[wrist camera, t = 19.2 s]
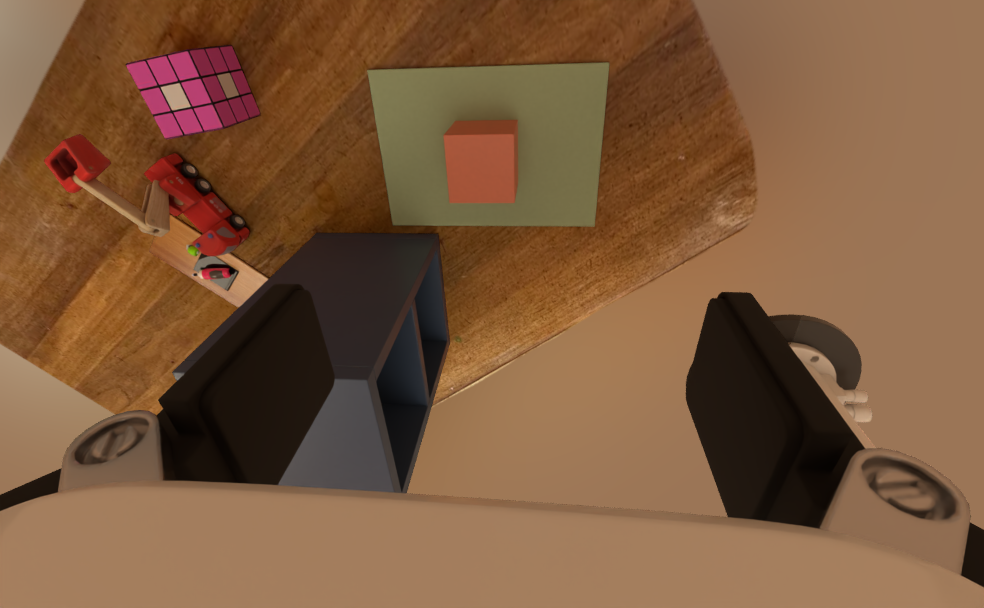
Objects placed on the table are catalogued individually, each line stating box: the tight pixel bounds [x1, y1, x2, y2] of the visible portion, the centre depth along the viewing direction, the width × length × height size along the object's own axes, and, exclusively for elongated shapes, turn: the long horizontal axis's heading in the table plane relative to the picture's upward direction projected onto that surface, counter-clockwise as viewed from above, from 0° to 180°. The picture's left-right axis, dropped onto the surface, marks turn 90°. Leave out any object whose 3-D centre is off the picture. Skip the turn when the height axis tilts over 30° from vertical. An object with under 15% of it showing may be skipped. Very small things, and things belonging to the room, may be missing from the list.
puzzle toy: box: [126, 45, 260, 139], centre depth 38 cm, size 6×6×6 cm
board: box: [149, 213, 269, 308], centre depth 50 cm, size 6×12×2 cm, turn 50°
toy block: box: [443, 120, 518, 203], centre depth 39 cm, size 6×6×6 cm
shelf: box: [172, 233, 450, 493], centre depth 41 cm, size 13×14×22 cm
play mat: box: [367, 62, 609, 226], centre depth 41 cm, size 20×14×1 cm
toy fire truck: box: [44, 134, 250, 256], centre depth 42 cm, size 3×14×10 cm, turn 32°
